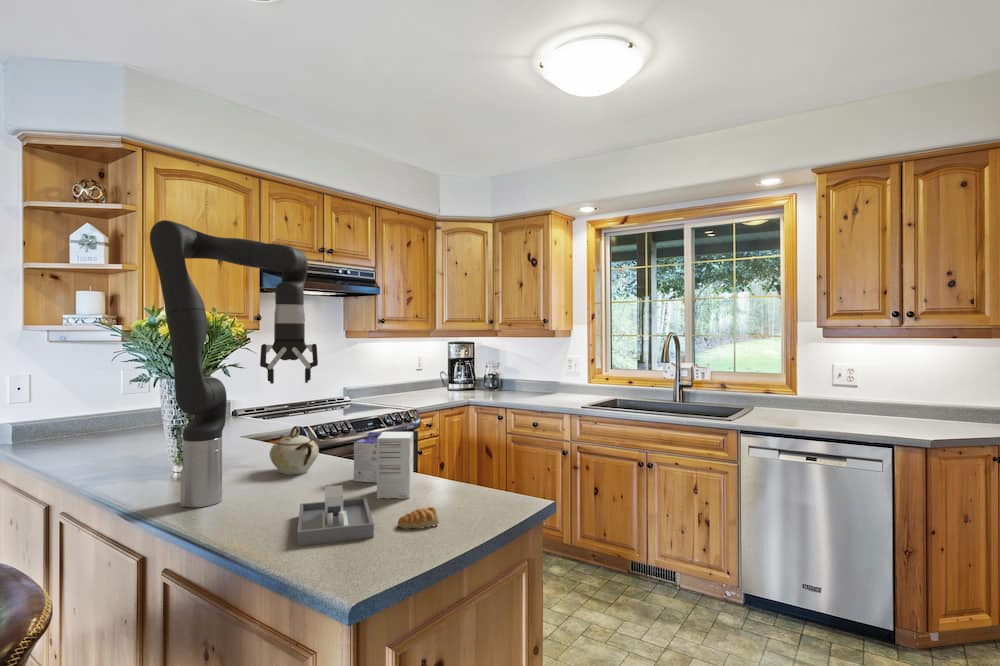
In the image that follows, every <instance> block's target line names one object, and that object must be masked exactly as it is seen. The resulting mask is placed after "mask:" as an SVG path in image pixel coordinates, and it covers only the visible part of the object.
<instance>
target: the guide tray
mask: <svg viewBox="0 0 1000 666" xmlns="http://www.w3.org/2000/svg"><path fill="white" fill-rule="evenodd" d="M298 511H299V512H298V519H297V520H298V521H297V528H296V529H297V532H296V535H297V536H296V538H297V539H296V547H302V546H310V545H319V544H320V543H321V544H328V543H329V542H330V543H336V542H345V541H346V542H347V541H354V540H355V541H356V540H362V539H361V538H364V539H369V538H368V537H372V538H374V535H375V533H374V529H375V528H374V527H375V526H374V525H375V524H374V520H373V516H372V513H371V510H370V506H369V503H368V500H367V497H360V498H359V497H358V498H348V499H343V511H341V512H338V525H333V513H327V526H325V500H324V501H316V502H303V503H300V504H299V510H298Z"/></svg>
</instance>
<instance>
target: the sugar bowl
mask: <svg viewBox="0 0 1000 666" xmlns="http://www.w3.org/2000/svg"><path fill="white" fill-rule="evenodd" d="M294 432H295V434H294ZM299 433H300V430H299V426H298V425H294V426H293V427H292V429H291V430H290V433H289V435H284V434H283V435H282V434H281V435H280V436H279V438H278V440H276V441H275V443H274V444H273V445H272V446H271V448H270V450H269V458H270V461H271V462H272V464H273V465H274V467H275V468H276V470H278V471H279V472H280V474H281V473H282V475H284V474H285V476H292V475H291V474H297V475H302V474H306V473H307V471H308V472H309V470H310V469H311V467H312V465H313V464H314V463H315V461H316V459H317V458H318V456H319V453H320V451H319V450H320V449H319V446H318V444H317V443H316V442H315V441H314V440H313V439H312V438H311V437H308V436H305V435H300V434H299ZM305 472H306V473H305ZM301 473H302V474H301Z"/></svg>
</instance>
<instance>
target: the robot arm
mask: <svg viewBox="0 0 1000 666" xmlns="http://www.w3.org/2000/svg"><path fill="white" fill-rule="evenodd" d="M149 243H150V247H151V251H152V256H153V258H154V259H153V260H154V262H155V266H156V268H157V274H158V278H159V282H160V288H161V293H162V299H163V303H164V311H165V317H166V325H167V329H168V334H169V341H170V347H171V353H172V354H171V355H172V362H173V376H174V395H175V401H176V404H177V406H178V407H179V409H180V410H181V411H182V412H183V413H184V414H187V415H188V416H189V415H190V416H193V417H192V419H191V421H190V422H189V423H188V425H187V426H186V427H184V429H183V430H182V468H181V470H180V508H185V507H186V508H202V507H209V506H214V505H216V504H218V503H220V502H221V501H223V430H224V428H225V426H226V422H227V421H226V419H227V399H228V397H227V391H226V387H225V385H224V383H223V382H222V380H220V379H218V378H216V377H212V376H211V377H209V376H208V377H204V373H203V369H202V368H203V367H202V352H203V349H204V345H205V342H206V340H207V339H206V338H207V336H208V328H209V327H208V317H207V312H206V307H205V303H204V300H203V299H202V297H201V294H200V292H199V291H198V289H197V288H196V286H195V284H194V283H193V280H192V279H191V277H190V275H189V272H188V269H187V264H186V259H187V260H188V259H192V260H193V259H196V260H197V259H203V260H205V259H206V260H207V259H208V260H216V261H221V262H225V263H228V264H229V263H231V264H235V265H239V266H244V267H250V268H257V269H268V270H271V271H276V272H281V273H282V274H281V282H279V283H277V285H275V292H274V293H275V294H274V295H275V296H274V297H275V299H274V301H275V302H274V303H275V307H274V308H275V309H274V317H273V318H274V319H273V324H274V326H273V327H274V328H273V330H274V333H273V334H274V335H273V336H274V337H273V338H274V341H273V342H274V343H273V344H266V343H263V344H261V346H260V360H259V367H260V368H264V369H266V370H267V381H268V382H270V383H269V384H271V385H274V383H275V381H274V380H275V370H274V367H275V365H277V363H278V362H279V361H280V360H282V361H289V360H290V361H296V360H299V361H300V362H301V363H302V364H303V365H304V367H305V369H304V382H305V384H308V383H309V381H311V379H312V378H311V373H312V371H311V369H312V368H314V367H317V366H319V365H318V364H319V362H318V360H319V359H318V358H319V357H318V350H317V349H318V346H317V344H316V343H313V344H306V341H305V340H306V339H305V337H306V336H305V335H306V334H305V333H306V332H305V329H306V328H305V322H306V315H305V307H304V304H305V303H304V298H305V297H304V296H305V295H304V289H305V284H306V280H307V275H308V268H309V263H308V259H307V258H308V257H307V255H306V254H305V253H304V251H302V250H301V249H298V248H296V247H293V246H289V245H286V244H279V243H268V242H266V243H265V242H261V241H258V240H251V239H245V238H236V237H220V236H214V235H209V234H207V233H203V232H200V231H199V230H195V229H193V228H191V227H190V226H187V225H184V224H182V223H178V222H175V221H171V220H167V219H166V220H165V219H164V220H163V219H162V220H159V221H158V222H156V223H154V225H152V227H151V230H150V232H149ZM306 349H308V351H309V352H310V353H311V354H312V362H310V361H308V360H307V359H306V357H305V356H304V355H303V353H304V352H305V351H306ZM271 350H273V352H274V353H275V356H274V358H273V359H272V360H271V361H270V362H269V363H268V362H267V354H268V353H269V352H270V351H271Z"/></svg>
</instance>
